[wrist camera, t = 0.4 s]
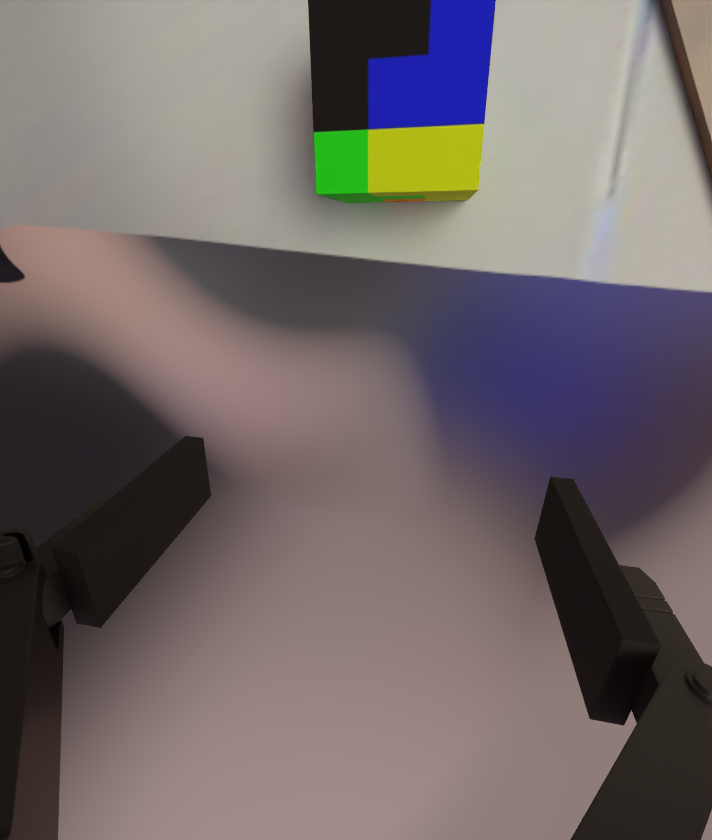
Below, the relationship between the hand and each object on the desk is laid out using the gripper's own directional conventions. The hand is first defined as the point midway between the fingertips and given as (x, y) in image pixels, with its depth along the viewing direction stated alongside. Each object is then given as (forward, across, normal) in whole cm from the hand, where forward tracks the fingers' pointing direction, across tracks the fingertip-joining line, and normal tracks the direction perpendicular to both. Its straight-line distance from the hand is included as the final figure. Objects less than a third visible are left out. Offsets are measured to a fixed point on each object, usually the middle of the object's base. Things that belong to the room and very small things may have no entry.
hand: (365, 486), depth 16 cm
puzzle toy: (+26, -1, +16) cm, 31 cm away
